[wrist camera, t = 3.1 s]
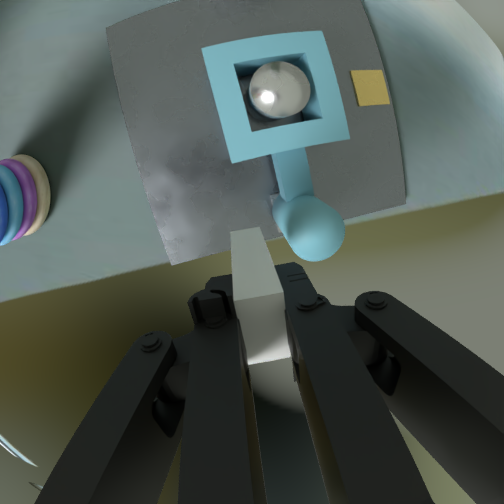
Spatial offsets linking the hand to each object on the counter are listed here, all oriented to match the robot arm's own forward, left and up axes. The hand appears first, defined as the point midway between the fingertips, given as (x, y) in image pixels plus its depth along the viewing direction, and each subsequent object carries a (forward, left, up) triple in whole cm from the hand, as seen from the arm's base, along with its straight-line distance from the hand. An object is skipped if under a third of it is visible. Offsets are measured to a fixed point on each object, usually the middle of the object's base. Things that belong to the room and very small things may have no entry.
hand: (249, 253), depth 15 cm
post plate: (+4, +8, -9) cm, 13 cm away
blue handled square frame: (+4, +5, -8) cm, 10 cm away
